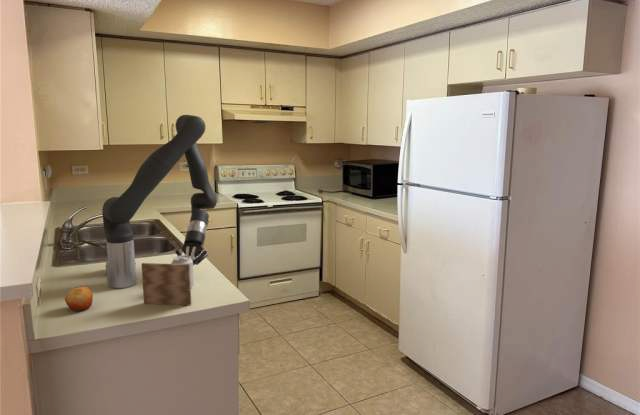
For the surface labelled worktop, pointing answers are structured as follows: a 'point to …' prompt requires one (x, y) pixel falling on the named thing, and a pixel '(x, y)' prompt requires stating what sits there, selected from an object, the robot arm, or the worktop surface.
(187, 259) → the can
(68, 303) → the fruit
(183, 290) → the brown wooden block
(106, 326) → the worktop surface
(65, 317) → the worktop surface
